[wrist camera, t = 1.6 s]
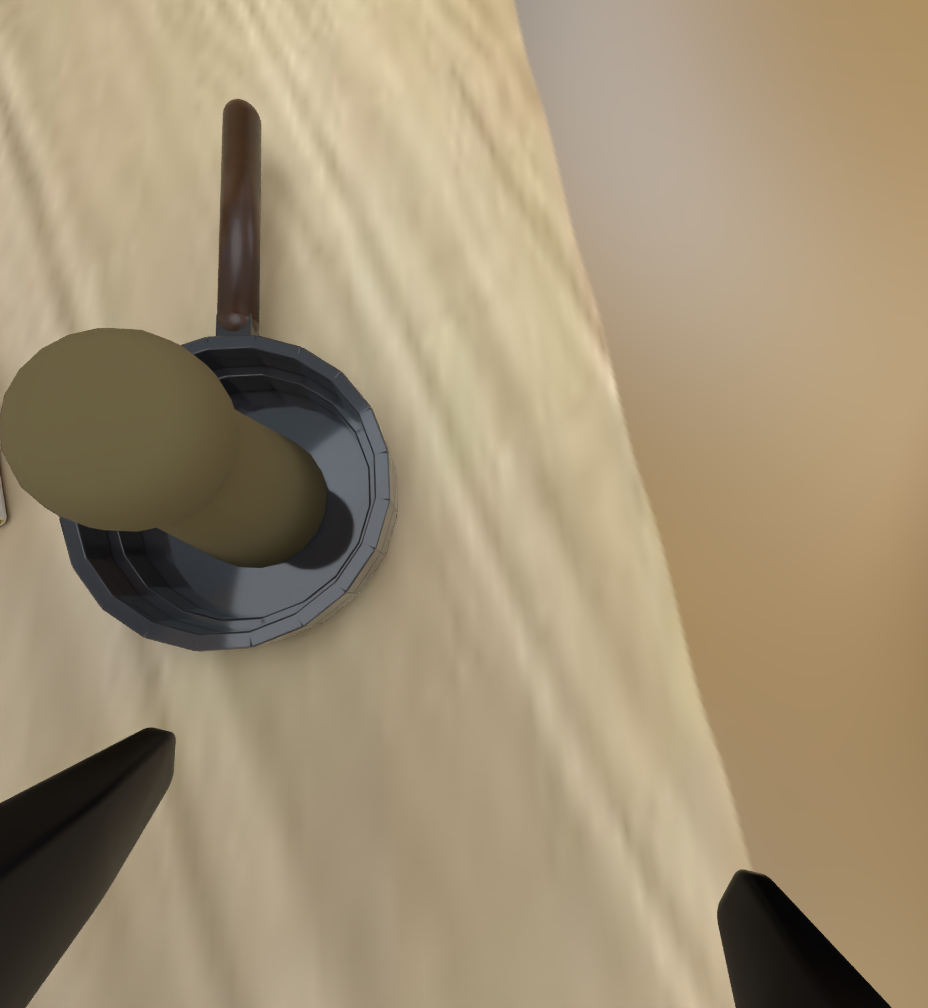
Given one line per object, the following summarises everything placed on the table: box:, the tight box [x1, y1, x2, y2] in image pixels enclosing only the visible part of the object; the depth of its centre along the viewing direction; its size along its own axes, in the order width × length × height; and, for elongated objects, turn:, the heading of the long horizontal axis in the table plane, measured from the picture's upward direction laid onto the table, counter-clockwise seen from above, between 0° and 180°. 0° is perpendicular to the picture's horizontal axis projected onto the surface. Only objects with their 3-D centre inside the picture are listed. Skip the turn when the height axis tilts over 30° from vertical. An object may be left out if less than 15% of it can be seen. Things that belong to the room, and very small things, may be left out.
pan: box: [59, 335, 397, 651], centre depth 21 cm, size 12×12×4 cm
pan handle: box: [216, 99, 261, 336], centre depth 22 cm, size 12×2×2 cm, turn 4°
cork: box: [0, 328, 327, 568], centre depth 17 cm, size 6×6×11 cm
